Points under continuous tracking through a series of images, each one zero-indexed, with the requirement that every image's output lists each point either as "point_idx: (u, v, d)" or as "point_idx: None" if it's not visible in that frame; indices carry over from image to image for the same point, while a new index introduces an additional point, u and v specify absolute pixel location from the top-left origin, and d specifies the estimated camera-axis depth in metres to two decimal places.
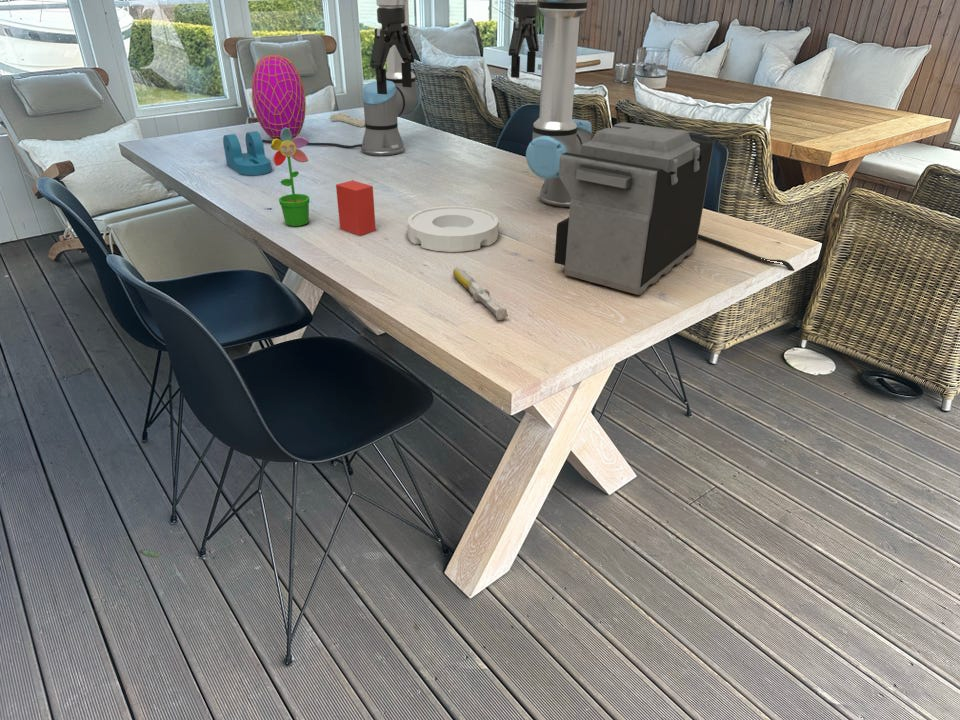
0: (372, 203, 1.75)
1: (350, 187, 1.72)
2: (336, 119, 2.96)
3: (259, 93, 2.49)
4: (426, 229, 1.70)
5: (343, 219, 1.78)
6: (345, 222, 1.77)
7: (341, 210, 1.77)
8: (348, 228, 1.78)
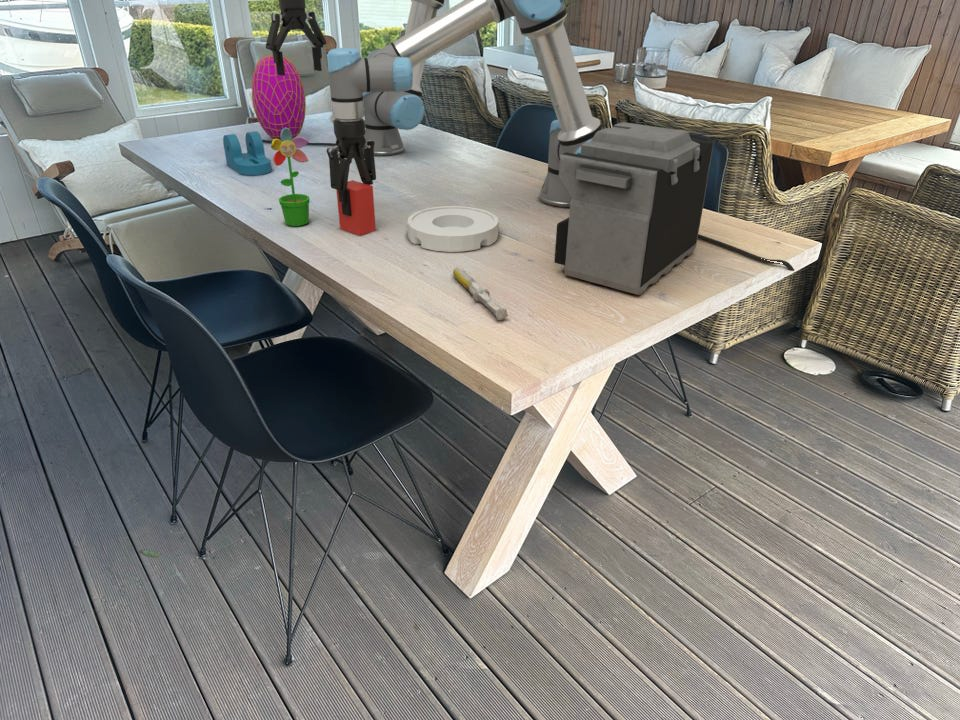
0: (372, 203, 1.75)
1: (350, 187, 1.72)
2: None
3: (259, 93, 2.49)
4: (426, 229, 1.70)
5: (343, 219, 1.78)
6: (345, 222, 1.77)
7: (341, 210, 1.77)
8: (348, 228, 1.78)
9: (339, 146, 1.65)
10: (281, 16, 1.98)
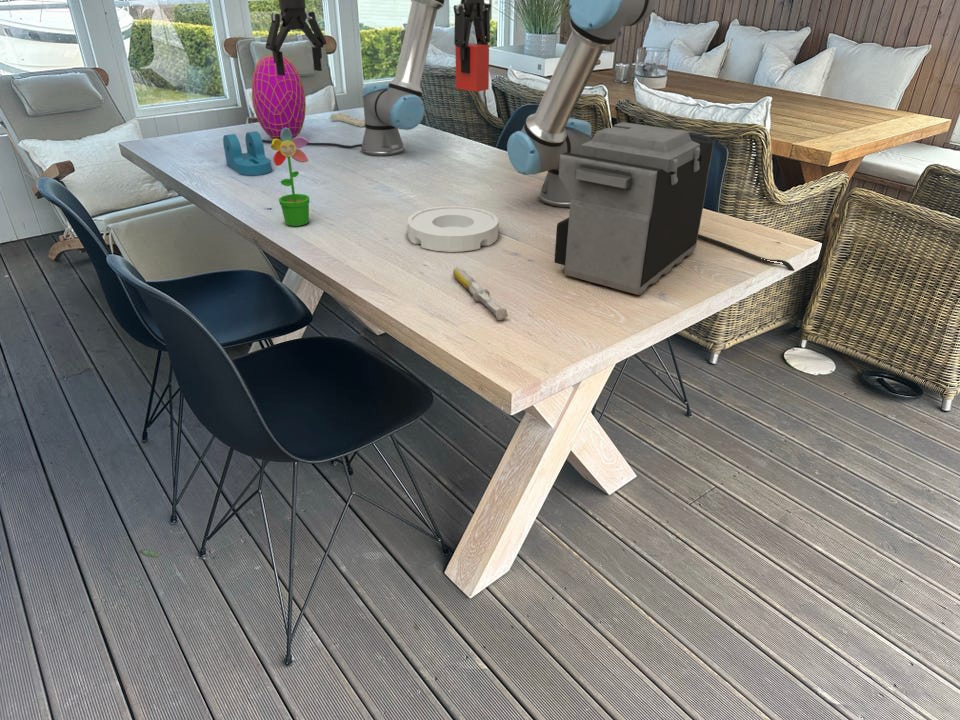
0: (487, 62, 1.94)
1: (470, 45, 1.91)
2: (336, 119, 2.96)
3: (259, 93, 2.49)
4: (426, 229, 1.70)
5: (460, 78, 1.96)
6: (462, 81, 1.96)
7: (459, 69, 1.96)
8: (464, 86, 1.97)
9: (464, 3, 1.84)
10: (281, 16, 1.98)
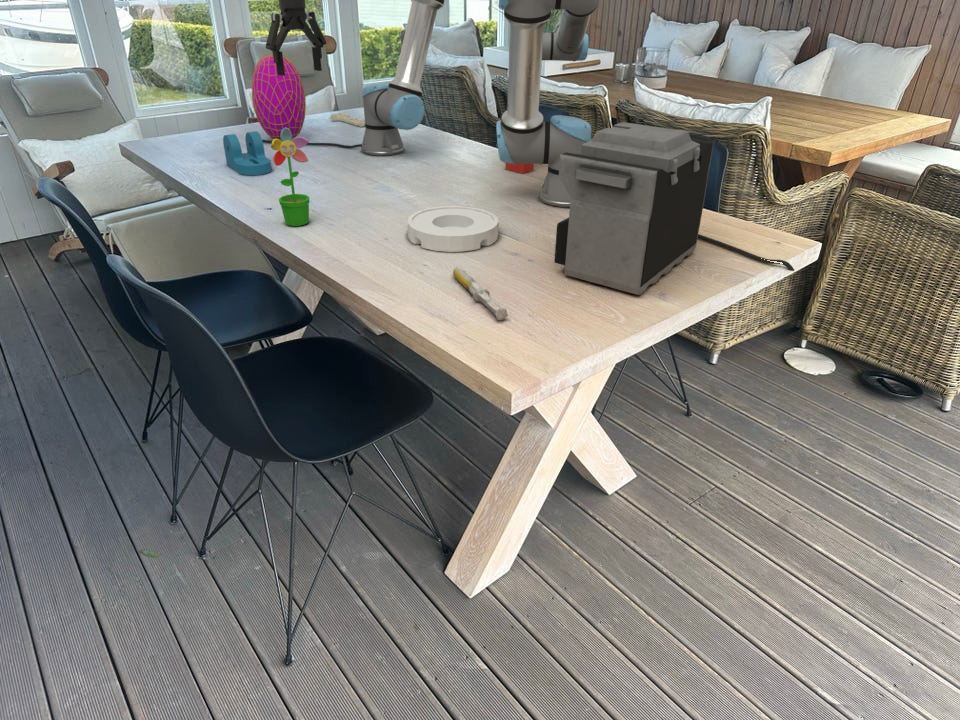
0: None
1: None
2: (336, 119, 2.96)
3: (259, 93, 2.49)
4: (426, 229, 1.70)
5: None
6: (511, 163, 2.29)
7: None
8: (513, 168, 2.30)
9: None
10: (281, 16, 1.98)
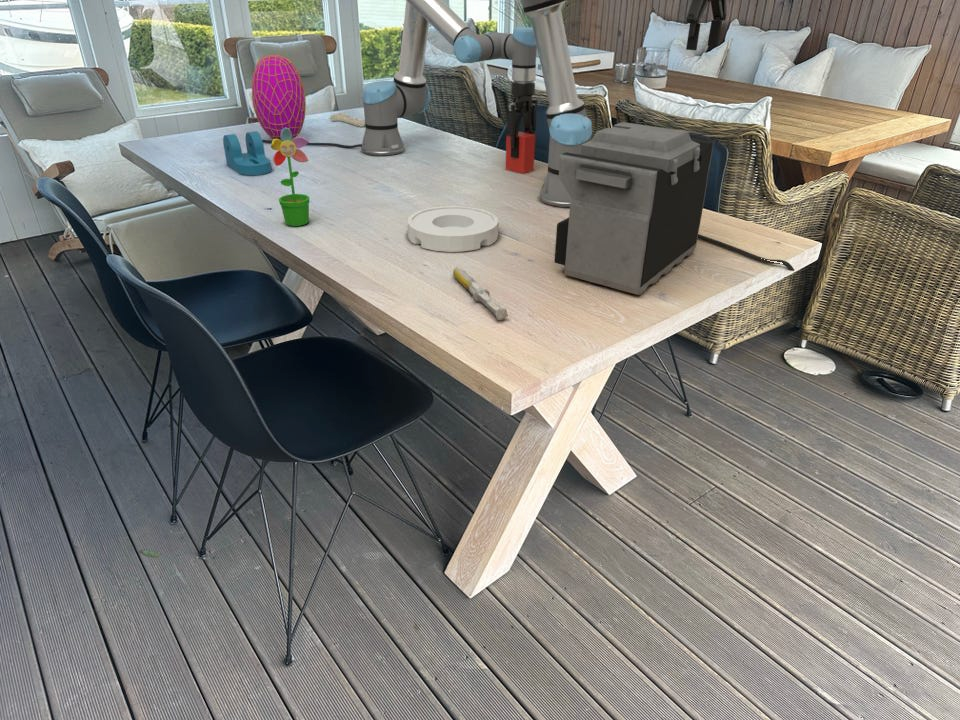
0: (533, 148, 2.27)
1: (519, 135, 2.24)
2: (336, 119, 2.96)
3: (259, 93, 2.49)
4: (426, 229, 1.70)
5: (510, 161, 2.30)
6: (511, 163, 2.29)
7: (509, 154, 2.29)
8: (513, 168, 2.30)
9: None
10: (515, 104, 2.17)
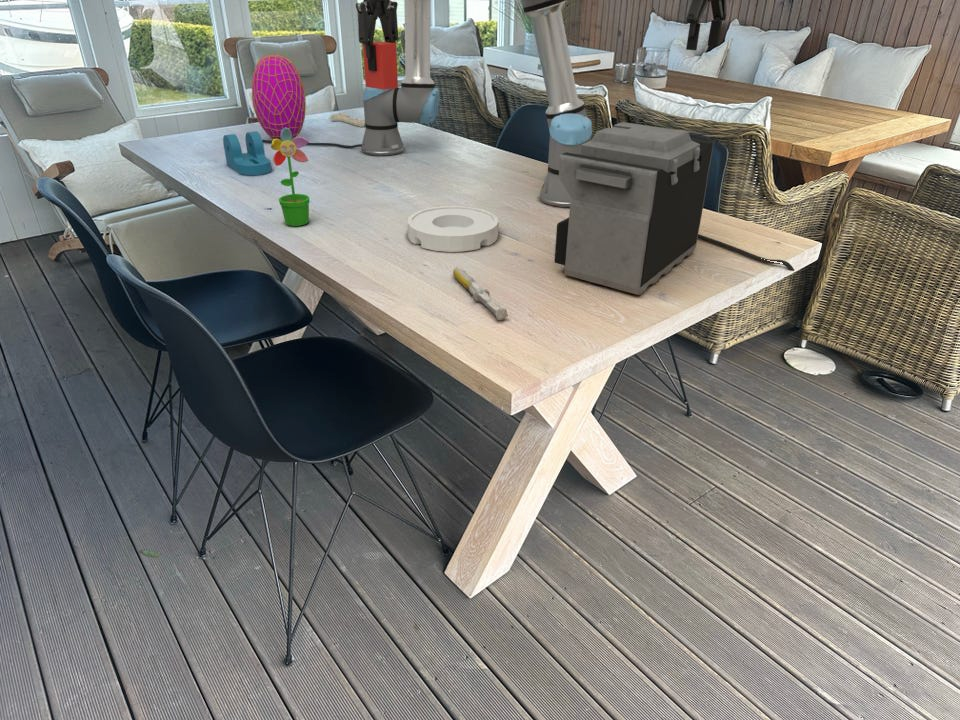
0: (395, 60, 1.94)
1: (376, 43, 1.91)
2: (336, 119, 2.96)
3: (259, 93, 2.49)
4: (426, 229, 1.70)
5: (369, 76, 1.96)
6: (371, 79, 1.96)
7: (367, 67, 1.95)
8: (373, 84, 1.97)
9: None
10: (365, 3, 1.84)
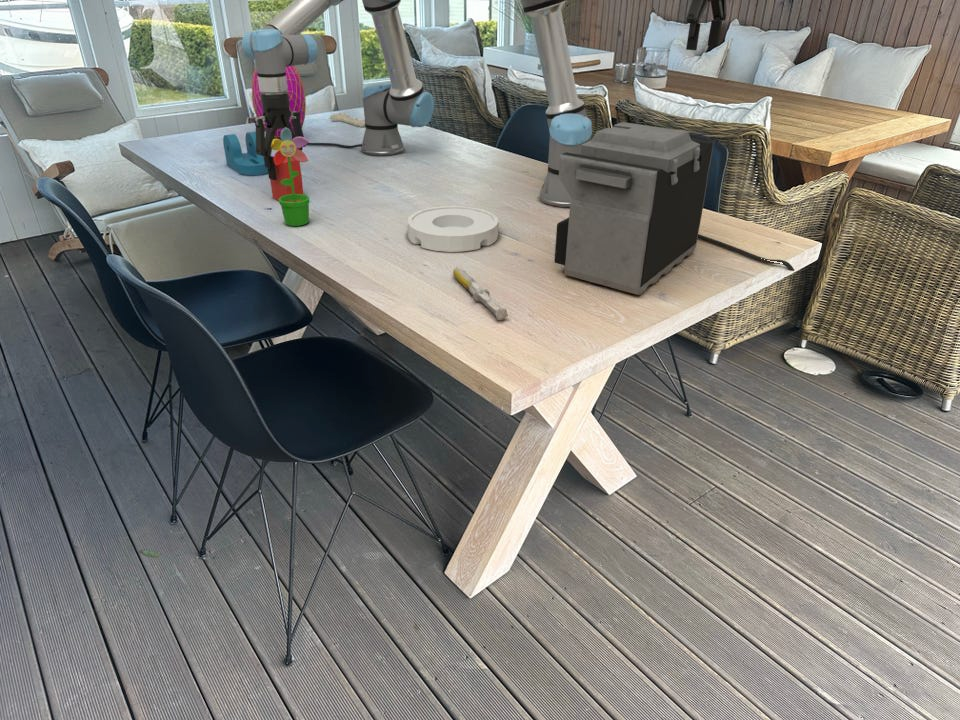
0: (299, 175, 1.97)
1: None
2: (336, 119, 2.96)
3: (259, 93, 2.49)
4: (426, 229, 1.70)
5: (275, 190, 1.99)
6: (277, 192, 1.99)
7: (272, 181, 1.99)
8: (279, 197, 2.00)
9: None
10: (264, 118, 1.86)
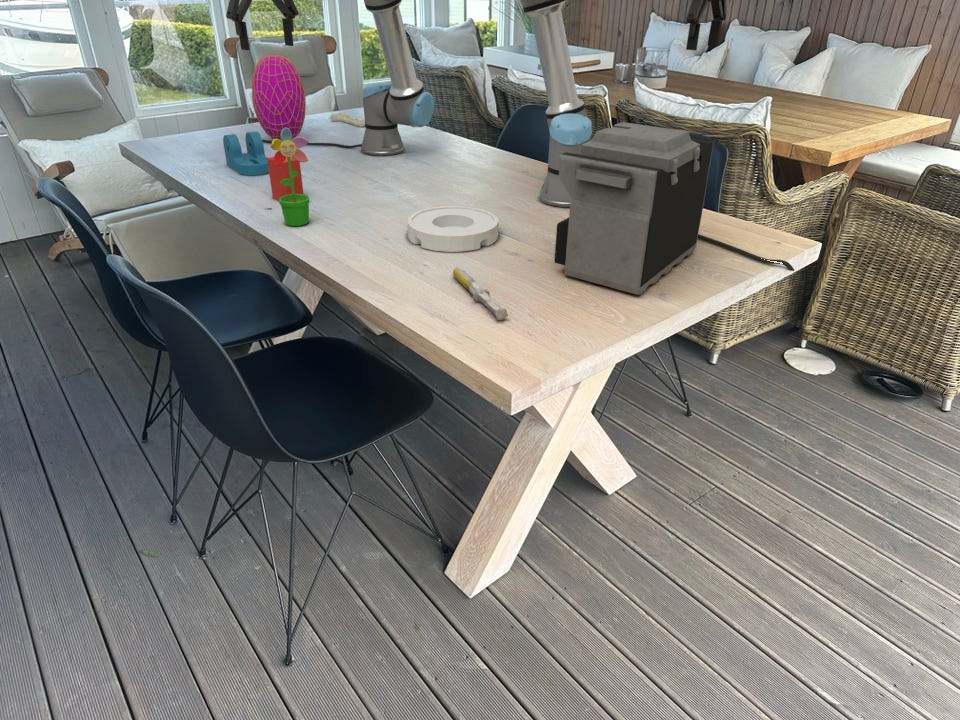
0: (299, 175, 1.97)
1: None
2: (336, 119, 2.96)
3: (259, 93, 2.49)
4: (426, 229, 1.70)
5: (275, 189, 1.99)
6: (276, 192, 1.99)
7: (272, 181, 1.99)
8: (279, 197, 2.00)
9: None
10: None
